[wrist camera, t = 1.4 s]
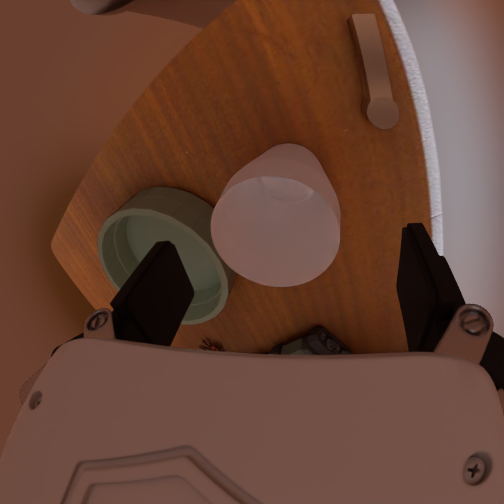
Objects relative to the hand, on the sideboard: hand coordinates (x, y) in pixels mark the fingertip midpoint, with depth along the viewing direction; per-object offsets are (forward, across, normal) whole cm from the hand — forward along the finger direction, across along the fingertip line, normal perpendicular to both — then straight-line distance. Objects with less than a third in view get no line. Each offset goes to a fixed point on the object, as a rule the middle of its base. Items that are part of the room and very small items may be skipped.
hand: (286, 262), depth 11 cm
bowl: (+19, +18, +11) cm, 28 cm away
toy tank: (+19, +2, +33) cm, 38 cm away
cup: (+19, +2, +3) cm, 19 cm away
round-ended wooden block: (+19, -7, -7) cm, 21 cm away
